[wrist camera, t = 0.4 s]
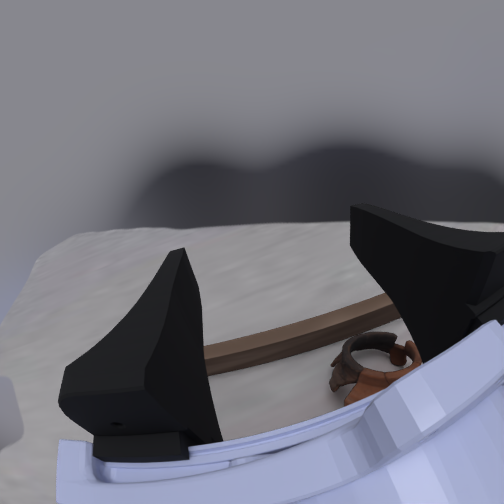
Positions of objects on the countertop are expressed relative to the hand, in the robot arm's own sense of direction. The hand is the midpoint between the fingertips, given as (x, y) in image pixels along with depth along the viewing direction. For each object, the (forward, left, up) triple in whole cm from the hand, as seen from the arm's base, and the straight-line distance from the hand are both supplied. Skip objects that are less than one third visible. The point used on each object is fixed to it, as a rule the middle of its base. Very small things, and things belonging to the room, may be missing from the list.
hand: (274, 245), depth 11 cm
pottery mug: (-4, -7, -20) cm, 21 cm away
